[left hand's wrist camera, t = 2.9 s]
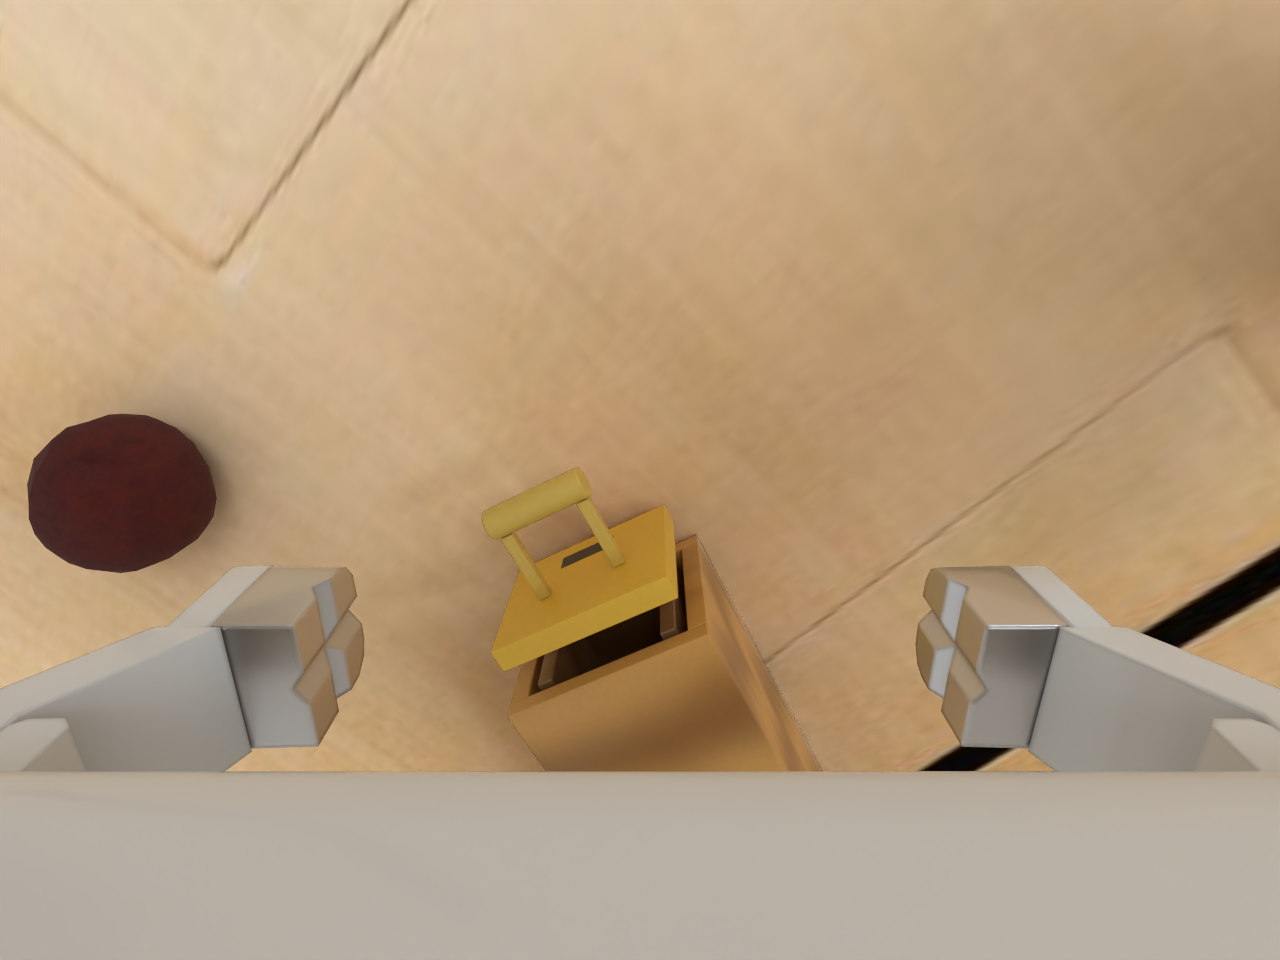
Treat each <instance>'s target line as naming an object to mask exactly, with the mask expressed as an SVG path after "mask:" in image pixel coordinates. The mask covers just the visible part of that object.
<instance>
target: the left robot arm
mask: <svg viewBox="0 0 1280 960" xmlns="http://www.w3.org/2000/svg"><path fill="white" fill-rule="evenodd" d="M356 597H357V594H356V589H355V584H354V579H353V575H352V574H351V573H350V571H349V570H348V569H347V568H346V567H294V566H276V567H274V566H272V565H266V566H239V567H232V568H231V569H230V570H229V571H228V572H227V573H226V574H224V575H223V576H222V577H221V578H220V579H219V580H218V581H217V582H216V583H215V584H213V585H212V586H211V587H210V588H209V589H208V590H207V591H206V592H205V593H204V594H202V595H201V596H200V597H199V598H198V599H197V600H196V601H195V602H194V603H192V604H191V605H190V606H189V607H188V608H187V609H186V610H185V611H184V612H183V613H181V614H180V615H179V616H178V617H177V618H176V619H175V620H174V621H173V622H172V623H170V624H169V625H168V626H167V627H153V628H151V629H148V630H146V631H143V632H141V633H138V634H136V635H133V636H131V637H128V638H126V639H123V640H121V641H118V642H116V643H113V644H111V645H108V646H106V647H103V648H101V649H98V650H96V651H93V652H91V653H88V654H86V655H83V656H81V657H78V658H76V659H73V660H71V661H68V662H66V663H63V664H61V665H58V666H56V667H53V668H51V669H48V670H46V671H43V672H41V673H38V674H36V675H33V676H30V677H28V678H25V679H23V680H20V681H18V682H15V683H13V684H10V685H8V686H5V687H3V688H0V960H1280V689H1279V688H1277V687H1274V686H1272V685H1269V684H1267V683H1264V682H1262V681H1259V680H1257V679H1254V678H1252V677H1249V676H1247V675H1244V674H1242V673H1239V672H1237V671H1234V670H1232V669H1229V668H1227V667H1224V666H1222V665H1219V664H1217V663H1214V662H1212V661H1209V660H1207V659H1204V658H1202V657H1199V656H1197V655H1194V654H1192V653H1189V652H1187V651H1184V650H1182V649H1179V648H1177V647H1174V646H1172V645H1169V644H1167V643H1164V642H1162V641H1159V640H1157V639H1154V638H1152V637H1149V636H1147V635H1144V634H1142V633H1139V632H1137V631H1134V630H1132V629H1129V628H1127V627H1113V626H1112V625H1111V624H1110V623H1109V622H1107V621H1106V620H1105V619H1104V618H1103V617H1102V616H1101V615H1100V614H1099V613H1098V612H1096V611H1095V610H1094V609H1093V608H1092V607H1091V606H1090V605H1089V604H1088V603H1087V602H1085V601H1084V600H1083V599H1082V598H1081V597H1080V596H1079V595H1078V594H1077V593H1076V592H1074V591H1073V590H1072V589H1071V588H1070V587H1069V586H1068V585H1067V584H1066V583H1065V582H1063V581H1062V580H1061V579H1060V578H1059V577H1058V576H1057V575H1056V574H1055V573H1054V572H1052V571H1051V570H1050V569H1049V568H1047V567H1043V566H1040V565H1033V566H987V567H945V568H935V569H931V570H930V572H929V574H928V577H927V579H926V582H925V588H924V593H923V597H924V598H925V600H926V601H927V603H928V604H929V606H930V608H931V609H932V610H931V611H930V612H929V613H928V614H927V615H926V616H925V617H924V618H923V619H922V620H921V621H920V622H919V623H918V630H917V637H916V654H917V664H918V667H919V670H920V673H921V676H922V678H923V680H924V682H925V684H926V686H927V688H928V689H929V690H930V691H932V692H934V693H935V694H937V695H939V696H940V697H942V698H943V705H942V710H941V712H942V713H943V715H944V717H945V719H946V720H947V722H948V724H949V725H950V727H951V729H952V730H953V732H954V734H955V735H956V737H957V739H958V741H959V742H960V744H961V746H964V747H1002V748H1029V750H1028V751H1029V752H1030V753H1032V754H1033V755H1034V756H1036V757H1037V758H1038V759H1040V760H1041V761H1042V762H1044V763H1045V764H1046V765H1048V766H1049V767H1050V768H1052V769H1053V770H1054V771H769V772H224V771H226V770H227V769H228V768H230V767H231V766H233V765H234V764H235V763H237V762H238V761H239V760H241V759H242V758H243V757H245V756H246V755H247V754H249V753H250V752H251V751H252V750H251V748H277V747H313V746H319V744H320V742H321V741H322V739H323V737H324V736H325V734H326V732H327V730H328V729H329V727H330V725H331V724H332V722H333V720H334V719H335V717H336V715H337V713H338V712H339V710H338V705H337V698H338V697H340V696H341V695H343V694H345V693H346V692H348V691H350V690H351V689H352V688H353V686H354V684H355V682H356V680H357V678H358V676H359V674H360V670H361V666H362V661H363V657H364V635H363V629H362V623H361V622H360V621H359V620H358V619H357V618H356V617H355V616H354V615H353V614H352V613H351V612H350V611H349V610H348V609H349V607H350V606H351V604H352V603H353V601H354V600H355V598H356Z"/></svg>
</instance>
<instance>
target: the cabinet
mask: <svg viewBox="0 0 1280 960" xmlns="http://www.w3.org/2000/svg"><path fill="white" fill-rule="evenodd" d="M675 552H676V563H677V565H678V567H679V568H680V570H681V572H682V574H683V576H684V586H685V599H686V612H687V625H688V631H686V632H683V633H681V634H678V635H676V636H673V637H671V638H669V639H666V640H664V641H661V642H659V643H657V644H654V645H652V646H649V647H647V648H644V649H642V650H640V651H637V652H635V653H632V654H630V655H628V656H625V657H623V658H620V659H618V660H616V661H613V662H611V663H608V664H606V665H603V666H601V667H599V668H596V669H594V670H591V671H589V672H587V673H584V674H582V675H579V676H577V677H574V678H572V679H570V680H567V681H565V682H562V683H560V684H558V685H555V686H553V687H550V688H548V689H545V690H543V691H541V689H540V688H539V687H538V682H539V677H540V673H541V669H542V664H543V660H544V656H545V655H543V656H540V657H538V658H535V659H533V660H531V661H528V662H526V663H524V664H522V666H521V669H520V673H519V676H518V680H517V684H516V687H515V691H514V694H513V698H512V702H511V703H512V704H511V705H510V709H509V713H508V719H509V720H510V722H511V723H512V725H513V726H514V727H515V729H516V730H517V732H518V733H519V734H520V736H521V737H522V739H523V740H524V741H525V743H526V744H527V746H528V747H529V748H530V750H531V751H532V753H533V754H534V755H535V757H536V758H537V760H538V761H539V762H540V764H541V765H542V767H543V768H544V769H545V771H546V772H769V771H822V770H821V768H820V766H819V764H818V762H817V760H816V758H815V756H814V754H813V753H812V751H811V749H810V747H809V745H808V743H807V741H806V739H805V737H804V736H803V734H802V732H801V730H800V728H799V726H798V724H797V722H796V721H795V719H794V717H793V715H792V713H791V711H790V709H789V707H788V705H787V704H786V702H785V700H784V698H783V696H782V694H781V692H780V690H779V689H778V687H777V685H776V683H775V681H774V679H773V677H772V675H771V673H770V672H769V670H768V668H767V666H766V664H765V662H764V660H763V658H762V656H761V655H760V653H759V651H758V649H757V647H756V645H755V643H754V641H753V640H752V638H751V636H750V634H749V632H748V630H747V628H746V626H745V624H744V623H743V621H742V619H741V617H740V615H739V613H738V611H737V609H736V607H735V606H734V604H733V602H732V600H731V598H730V596H729V594H728V592H727V591H726V589H725V587H724V585H723V583H722V581H721V579H720V577H719V575H718V574H717V572H716V570H715V568H714V566H713V564H712V562H711V560H710V559H709V557H708V555H707V553H706V551H705V549H704V547H703V545H702V543H701V542H700V540H699V538H698V536H697V534H695V535H694V536H692V537H690V538H688V539H685V540H683V541H681V542H679V543H676V544H675Z"/></svg>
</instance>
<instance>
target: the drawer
mask: <svg viewBox="0 0 1280 960" xmlns="http://www.w3.org/2000/svg"><path fill="white" fill-rule="evenodd" d="M590 496H591V488H590V485H589V482H588V480H587V478H586V476H585V474H584V473H583V472H582V470H581V469H580V468H578V467H576V468H573V469H571V470H569V471H567V472H565V473H563V474H561V475H559V476H557V477H555V478H552V479H550V480H548V481H546V482H544V483H542V484H540V485H538V486H536V487H534V488H531V489H529V490H527V491H525V492H523V493H521V494H519V495H517V496H515V497H513V498H510V499H508V500H506V501H504V502H502V503H500V504H498V505H496V506H494V507H492V508H489V509H487V510H485V511H484V512H483V513H482V516H481V518H482V523H483V526H484V528H485V530H486V532H487V533H488V535H489V536H490V537H491V538H492V539H494V540H498V539H500V538H501V541H502V542H503V544H504V545H505V547H506V549H507V550H508V552H509V553H510V555H511V556H512V558H513V559H514V561H515V563H516V564H517V566H518V567H519V569H520V570H519V573H518V576H517V579H516V582H515V584H514V587H513V590H512V593H511V596H510V599H509V601H508V604H507V607H506V610H505V613H504V616H503V618H502V621H501V624H500V627H499V630H498V633H497V635H496V638H495V641H494V644H493V647H492V650H491V654H492V656H493V657H494V658H495V660H496V661H497V663H498V664H499V666H500V667H501V668H502V670H503V671H504V672H505V671H507V670H510V669H512V668H514V667H517V666H519V665H521V664H524V663H526V662H528V661H531V660H533V659H535V658H538V657H540V656H543V655H545V656H544V660H543V664H542V669H541V673H540V677H539V682H538V687H539V688H540V689H541V691H543V690H545V689H548V688H550V687H553V686H555V685H558V684H560V683H562V682H565V681H567V680H570V679H572V678H574V677H577V676H579V675H582V674H584V673H587V672H589V671H591V670H594V669H596V668H599V667H601V666H603V665H606V664H608V663H611V662H613V661H616V660H618V659H620V658H623V657H625V656H628V655H630V654H632V653H635V652H637V651H640V650H642V649H644V648H647V647H649V646H652V645H654V644H657V643H659V642H661V641H664V640H666V639H669V638H671V637H673V636H676V635H678V634H681V633H683V632H686V631H688V625H687V612H686V599H685V586H684V576H683V574H682V572H681V570H680V568H679V567H678V565H677V563H676V552H675V535H674V522H673V520H672V518H671V516H670V514H669V512H668V511H667V509H666V507H665V505H662V506H659V507H657V508H655V509H653V510H651V511H648V512H646V513H644V514H642V515H639V516H637V517H635V518H633V519H631V520H628V521H626V522H624V523H622V524H620V525H617V526H615V527H613V528H611V529H608V527H607V526H606V524H605V522H604V520H603V519H602V517H601V515H600V513H599V512H598V510H597V508H596V507H595V505H594V503H593V501H592V500H591V498H590ZM575 503H577V506H578V508H579V510H580V511H581V513H582V515H583V517H584V518H585V520H586V522H587V523H588V525H589V527H590V528H591V530H592V532H593V533H594V535H595V536H593V537H591V538H589V539H587V540H584V541H582V542H580V543H578V544H576V545H573V546H571V547H569V548H567V549H564V550H562V551H560V552H558V553H556V554H553V555H551V556H549V557H547V558H545V559H542V560H540V561H538V562H536V563H534V561H533V560H532V558H531V557H530V555H529V554H528V552H527V550H526V549H525V547H524V546H523V544H522V542H521V541H520V539H519V538H518V536H517V535H516V533H515V531H517V530H519V529H521V528H524V527H526V526H528V525H530V524H532V523H534V522H536V521H539V520H541V519H543V518H545V517H547V516H549V515H551V514H554V513H556V512H558V511H560V510H562V509H564V508H566V507H569V506H571V505H573V504H575Z"/></svg>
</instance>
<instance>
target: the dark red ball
mask: <svg viewBox="0 0 1280 960" xmlns="http://www.w3.org/2000/svg"><path fill="white" fill-rule="evenodd" d="M27 486H28V501H29V520H30V523H31V525H32V528H33V531H34V533H35V535H36V536H37V538H38V539H39V540H40V541H41V542H42V544H43V545H44V546H45V547H46V548H47V549H49V550H50V551H51V552H53V553H54V554H56V555H57V556H59V557H60V558H62V559H63V560H65V561H66V562H68V563H70V564H73V565H76V566H79V567H82V568H85V569H92V570H101V571H109V572H118V573H123V572H131V571H137V570H140V569H142V568H145V567H148V566H150V565H153V564H156V563H158V562H161V561H163V560H166V559H168V558H170V557H172V556H173V555H174V554H176V553H177V552H179V551H180V550H182V549H183V548H185V547H186V546H188V545H189V544H191V543H192V542H194V541H195V540H197V539H198V537H199V536H200V535H201V533H202V532H203V531H204V529H205V528H206V527H207V525H208V524H209V522H210V521H211V519H212V518H213V515H214V509H215V504H216V493H215V488H214V485H213V481H212V478H211V475H210V471H209V468H208V465H207V464H206V462H205V461H204V459H203V457H202V456H201V454H200V453H199V451H198V449H197V448H196V446H195V445H194V443H193V442H192V441H190V440H189V439H188V438H187V437H186V436H185V435H184V434H183V433H181V432H180V431H179V430H178V429H177V428H175V427H173V426H171V425H169V424H166V423H164V422H162V421H160V420H157V419H155V418H152V417H149V416H146V415H131V414H114V415H107V416H104V417H101V418H98V419H95V420H92V421H89V422H85V423H82V424H78V425H75V426H71V427H67V428H66V429H65V430H63V431H62V432H61V433H60V434H58V435H57V436H56V437H55V438H53V439H52V440H51V441H50V442H49V443H48V444H47V445H46V447H45V448H44V449H43V450H42V451H41V452H40V453H39V454H38V455H37V456H36V457H35V458H34V460H33V464H32V468H31V472H30V476H29V480H28V484H27Z"/></svg>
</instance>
